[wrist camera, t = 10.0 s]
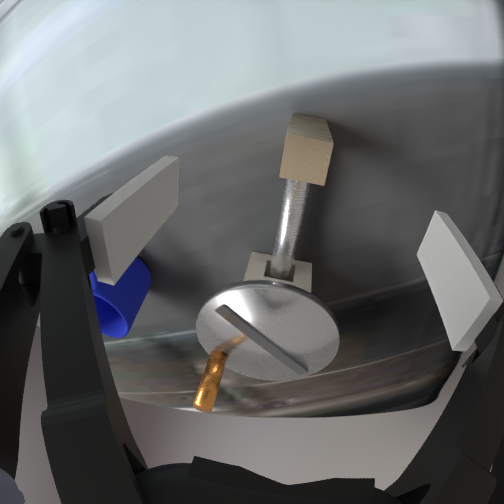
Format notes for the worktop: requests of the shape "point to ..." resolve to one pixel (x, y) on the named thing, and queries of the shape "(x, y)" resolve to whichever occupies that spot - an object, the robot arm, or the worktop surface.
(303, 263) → the eye block
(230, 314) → the handwheel
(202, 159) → the worktop surface
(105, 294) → the mug
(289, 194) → the hook rod
